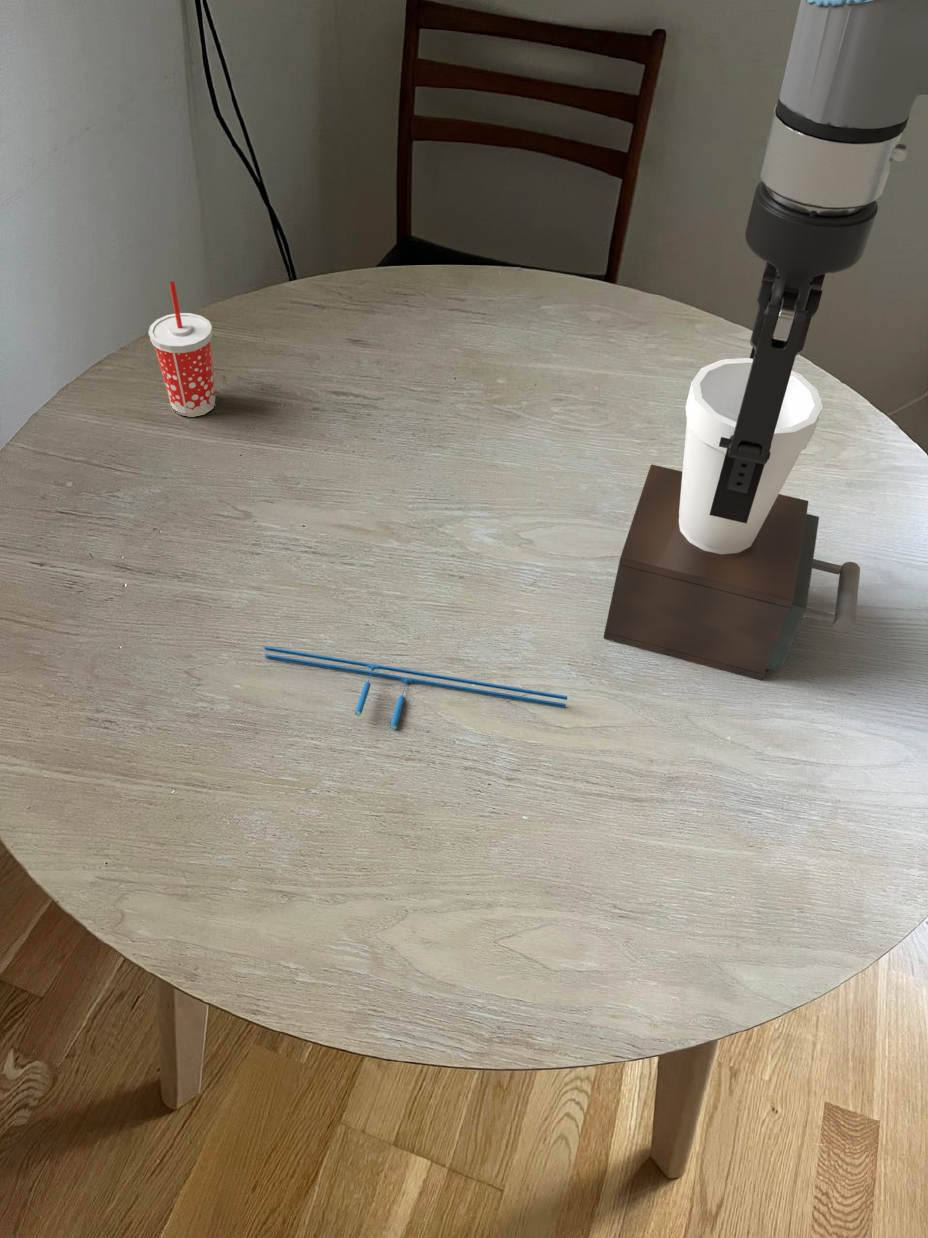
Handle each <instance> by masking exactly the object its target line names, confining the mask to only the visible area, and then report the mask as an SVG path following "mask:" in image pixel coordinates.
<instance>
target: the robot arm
mask: <svg viewBox="0 0 928 1238" xmlns="http://www.w3.org/2000/svg"><path fill="white" fill-rule="evenodd" d="M799 2H800V3H799V7H798V12H797V16H796V19H795V20H796V21H795V25H794V30H793V35H792V38H791V44H790V48H789V53H788V57H787V62H786V67H785V71H784V75H783V81H782V82H781V83H782V84H781V88H780V93H779V95H778V98H777V103H776V104H775V106H774V108H773V111H772V115H771V118H770V119H771V120H770V124H769V128H768V133H767V137H766V141H765V145H764V150H763V153H762V158H761V163H760V166H759V172H758V174H759V177H760V180H761V181H760V182H759V183H758V184H757V185H756V187H755V191H754V195H753V199H752V204H751V206H750V207H751V208H750V211H749V215H748V220H747V224H746V229H745V232H744V233H745V241H746V245H747V246H748V247H749V249H750V251H751V252H752V253H754V255H755V256H756V257H757V258H759V259H761V261H764V262H765V266H764V269H763V270H764V271H763V274H762V278H761V282H760V287H759V291H758V294H757V298H756V307H757V313H756V317H755V321H754V325H753V328H752V332H751V336H750V340H749V343H750V346H751V347H752V348H751V352H750V355H749V358H750V359H753V362H752V366H751V370H750V373H749V377H748V381H747V385H746V389H745V392H744V396H743V400H742V404H741V408H740V411H739V415H738V419H737V423H736V427H735V430H734V434H733V435H732V436H731V437H730V439H728V438H724V437H721V439H720V443H719V447H723V448H727V451H726V455H725V458H724V462H723V466H722V470H721V473H720V477H719V481H718V484H717V488H716V492H715V496H714V499H713V503H712V507H711V511H710V514H709V515H711V516H716V517H720V518H725V519H729V520H733V521H738V522H742V523H746V524H747V521H748V517H749V514H750V511H751V508H752V504H753V501H754V498H755V495H756V491H757V488H758V485H759V481H760V478H761V475H762V472H763V468H764V465H765V463H767V460H769V458H770V454H771V452H770V448H771V443H772V439H773V435H774V432H775V428H776V425H777V421H778V418H779V414H780V410H781V407H782V403H783V400H784V396H785V393H786V389H787V385H788V382H789V378H790V375H791V371H793V367H794V364H795V360H796V357H797V356H799V355H800V354H801V353H802V351H803V349H804V346H805V344H806V340H807V336H808V333H809V328H810V325H811V321H812V319H813V318H814V317H815V315H816V314H817V312H818V310H819V307H820V303H821V299H822V295H823V289H822V288H823V285H824V281H825V277H826V274H836V273H840V272H843V271H845V270H849V269H850V268H851V267H853V266H855V265H856V264H858V263H859V262H860V260H861V259H862V257H863V255H864V253H865V250H866V248H867V247H866V246H867V244H868V240H869V238H870V235H871V232H872V228H873V225H874V222H875V220H876V217H877V214H878V210H879V206H878V202H877V200H878V199H879V198H880V197H881V196H882V194H883V192H884V189H885V186H886V183H887V180H888V178H889V175H890V172H891V162H896V163H899V162H904V161H905V159H906V158H907V154H908V146H907V145H906V144H904V143H900V140H901V138H902V135H903V134H902V133H904V131H905V129H906V127H907V124H908V122H909V118H910V113H911V111H912V108H913V106H914V103H915V101H916V100H917V97H919V96H928V0H800V1H799Z"/></svg>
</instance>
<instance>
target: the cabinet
mask: <svg viewBox="0 0 928 1238" xmlns="http://www.w3.org/2000/svg"><path fill="white" fill-rule="evenodd" d="M682 472H683V470H682V471H681V470H677V469H674V468H669V467H665V466H661V465H656V464H653V463H652V464H650V466H649V468H648V472H647V475H646V478H645V481H644V484H643V487H642V489H641V494H640V497H639V500H638V502H637V505H636V508H635V511H634V514H633V517H632V520H631V524H630V526H629V530H628V533H627V535H626V539H625V542H624V544H623V548H622V551H621V554H620V557H619V562H618V566H617V571H616V575H615V580H614V586H613V591H612V595H611V599H610V605H609V609H608V614H607V619H606V624H605V628H604V632H603V639H605V640H609V641H613V642H617V643H620V644H624V645H626V646H627V645H628V646H631V647H635V648H638V649H643V650H646V651H650V652H654V653H658V654H661V655H665V656H669V657H673V658H677V659H680V660H683V661H687V662H691V663H695V664H698V665H702V666H707V667H709V668H714V669H718V670H720V671H721V670H722V671H726V672H729V673H733V674H737V675H740V676H744V677H747V678H751V679H755V680H759V681H762V680H763V679H764V676H765V673H766V671H767V670H768V669H767V666H768V664H769V661H770V659H771V656H772V654H773V651H774V649H775V646H776V644H777V641H778V639H779V636H780V634H781V631H782V629H783V626H784V623H785V621H786V618H787V616H788V613H789V611H790V608H791V606H792V603H793V600H794V594H795V587H796V581H797V574H798V567H799V561H800V554H801V548H802V541H803V535H804V528H805V522H806V515H807V514H808V508H809V500H807V499H806V500H805V499H802V498H798V497H794V496H790V495H784V494H781V493H779V494H778V496H777V498H776V500H775V502H774V504H773V506H772V508H771V509H770V511H769V513H768V515H767V517H766V519H765V521H764V523H763V525H762V526H761V528H760V530H759V532H758V534H757V536H756V538H755V540H754V541H753V543H752V545H751V546H750V547H748V548H747V549H745V550H743V551H741V552H739V553H732V554H718V553H713V552H708V551H704V550H702V549H700V548H699V547H697V546H695V545H693V544H692V543H690V542H689V541H688V540H687V539H686V538H685V536H684V535H683V534H682V533H681V531H680V526H679V507H680V496H681V484H682Z"/></svg>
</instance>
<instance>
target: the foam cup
mask: <svg viewBox="0 0 928 1238" xmlns="http://www.w3.org/2000/svg"><path fill="white" fill-rule="evenodd" d="M752 362H753V359H750V357H743V358H742V357H739V358H728V359H727V358H725V359H720V360H718V361H715V362H712V363H710V364H708V365H705V366H702V367H701V368H700V369H699V371H698V372H697V373H696V375H695V376H694V378H693V379H692V380H691V383H690V387H689V391H688V396H687V400H686V403H685V406H684V407H685V408H684V409H685V415H686V425H685V426H686V427H685V437H684V450H683V462H682V484H681V496H680V507H679V526H680V531H681V533H682V534H683V535H684V536H685V538H686V539H687V540H688V541H689V542H690V543H692V544H693V545H695V546H697V547H699V548H700V549H702V550H704V551H708V552H713V553H718V554H732V553H739V552H741V551H743V550H745V549H747V548H748V547H750V546H751V545H752V543H753V541H754V540H755V538H756V536H757V534H758V532H759V530H760V528H761V526H762V525H763V523H764V521H765V519H766V517H767V515H768V513H769V511H770V509H771V508H772V506H773V504H774V502H775V500H776V498H777V496H778V494H780V492H781V490H782V488H783V487H784V486H785V483H786V481H787V480H788V478H789V475H790V473H791V472H792V471H793V468H794V466H795V464H796V462H797V460H798V458H799V457H800V454H801V452H803V451H804V450H806V449H807V447H808V446H809V443H810V441H811V439H812V438H813V435H814V434H815V431H816V428H817V425H818V422H819V421H820V416H821V414H822V411H823V408H824V406H823V403H822V400H821V397H820V393H819V390H818V389H817V388H816V387H815V386H814V385H813V384H811V382H809V381H808V380H807V379H806V378H805V377H804V376H803V375H802V374H800V373H798V372H796V371H794V370H792V371H791V375H790V378H789V382H788V385H787V389H786V393H785V396H784V400H783V403H782V407H781V410H780V414H779V418H778V421H777V425H776V428H775V432H774V435H773V439H772V443H771V448H770V452H771V454H770V458H769V460H767V463H765V465H764V468H763V472H762V475H761V478H760V481H759V485H758V488H757V491H756V495H755V498H754V501H753V504H752V508H751V511H750V514H749V517H748V521H747V524H746V523H742V522H738V521H733V520H729V519H725V518H720V517H716V516H711V515H709V514H710V511H711V507H712V503H713V499H714V496H715V492H716V488H717V484H718V481H719V477H720V473H721V470H722V466H723V462H724V458H725V455H726V451H727V448H723V447H719V443H720V439H721V437H724V438H728V439H730V437H731V436H732V435H733V434H734V430H735V427H736V423H737V419H738V415H739V411H740V408H741V404H742V400H743V396H744V392H745V389H746V385H747V381H748V377H749V373H750V370H751V366H752Z"/></svg>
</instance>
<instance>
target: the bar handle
mask: <svg viewBox="0 0 928 1238" xmlns="http://www.w3.org/2000/svg"><path fill="white" fill-rule="evenodd" d="M263 649H264V651H267V652H274V653H280V654H287V655H293V656H298V657H305V658H310V659H318V660H322V661H328V662H329V661H330V662H335V663H341V664H346V665H353V666H358V667H366V668H367V669H368V668H369V669H370V670H364V669H360V668H359V669H358V668H352V667H347V666H339V665H335V664H328V663H323V662H317V661H311V660H306V659H305V660H304V659H299V658H292V657H286V656H281V655H280V656H279V655H274V654H267V653H265V655H264V657H265V659H271V660H276V661H283V662H287V663H294V664H300V665H307V666H312V667H319V668H324V669H330V670H335V671H336V670H337V671H342V672H349V673H355V674H361V675H366V676H369V678H368V681H366V682H364V684H363V687H362V690H361V693H360V697H359V699H358V702H357V705H356V709H355V711H354V714H355V715H356V716H359V717H360V716H361V715H362V712H363V710H364V706H365V703H366V701H367V698H368V694H369V692H370V688H371V683H370V679H371V677H372V676H373V677H379V678H384V679H390V680H395V681H401V682H403V683H404V687H403V688H404V689H403V691H402V693H401V695H399V696H398V698H397V701H396V705H395V709H394V712H393V715H392V719H391V721H390V726H389V728H390V729H391V730H396V729H397V727H398V724H399V720H400V717H401V713H402V710H403V706H404V703H405V700H406V697H405V696H404V693H405V689H406V686H407V685H408V684H409V683H410V684H412V683H415V684H421V685H427V686H432V687H438V688H445V689H451V690H457V691H463V692H468V693H474V694H475V693H476V694H480V695H486V696H492V697H497V698H505V699H510V700H511V699H512V700H516V701H523V702H528V703H533V704H541V705H547V706H553V707H559V708H563V709H564V708H566V706H567V703H563V702H559V701H558V702H557V701H551V700H545V699H539V698H535V697H534V698H533V697H528V696H522V695H515V694H509V693H504V692H497V691H492V690H485V689H481V688H480V689H479V688H473V687H466V686H461V685H455V684H449V683H443V682H438V681H437V682H436V681H430V680H425V679H420V678H419V679H418V678H412V677H407V676H401V675H394V674H388V673H382V672H377V671H375V670H383V671H389V672H395V673H402V674H408V675H412V676H420V677H424V678H432V679H438V680H444V681H450V682H456V683H462V684H467V685H474V686H480V687H486V688H490V689H491V688H492V689H498V690H504V691H510V692H515V693H516V692H517V693H523V694H527V695H534V696H541V697H546V698H552V699H557V700H564V701H567V700H568V695H563V694H557V693H551V692H546V691H541V690H540V691H539V690H534V689H533V690H532V689H528V688H527V689H526V688H520V687H514V686H509V685H503V684H498V683H497V684H496V683H490V682H485V681H479V680H474V679H473V680H472V679H468V678H467V679H466V678H461V677H455V676H448V675H442V674H435V673H432V672H431V673H430V672H424V671H418V670H412V669H405V668H400V667H393V666H388V665H381V664H376V663H370V662H363V661H357V660H351V659H345V658H340V657H333V656H327V655H321V654H315V653H309V652H304V651H297V650H291V649H284V648H279V647H273V646H266V645H265V646H263Z"/></svg>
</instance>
